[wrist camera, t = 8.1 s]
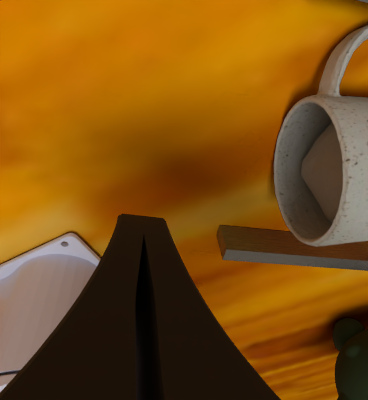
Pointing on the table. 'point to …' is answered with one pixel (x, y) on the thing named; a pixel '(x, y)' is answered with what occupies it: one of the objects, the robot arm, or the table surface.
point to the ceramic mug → (326, 159)
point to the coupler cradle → (288, 248)
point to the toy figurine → (351, 359)
